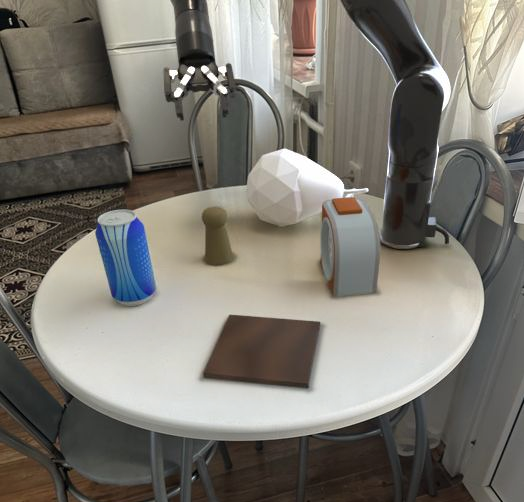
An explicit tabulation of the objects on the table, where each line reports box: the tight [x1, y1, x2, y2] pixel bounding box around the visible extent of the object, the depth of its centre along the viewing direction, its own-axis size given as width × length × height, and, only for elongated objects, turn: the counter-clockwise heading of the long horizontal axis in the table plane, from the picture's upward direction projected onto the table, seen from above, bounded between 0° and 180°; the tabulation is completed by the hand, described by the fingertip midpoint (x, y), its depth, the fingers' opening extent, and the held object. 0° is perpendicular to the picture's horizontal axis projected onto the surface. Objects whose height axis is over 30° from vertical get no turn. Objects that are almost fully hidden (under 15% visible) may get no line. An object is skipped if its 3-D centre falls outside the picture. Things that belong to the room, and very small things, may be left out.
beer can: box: [94, 209, 157, 307], centre depth 91 cm, size 8×8×16 cm
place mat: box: [202, 314, 321, 389], centre depth 81 cm, size 16×16×1 cm
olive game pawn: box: [201, 206, 234, 266], centre depth 104 cm, size 6×6×11 cm
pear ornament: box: [246, 147, 369, 228], centre depth 117 cm, size 16×22×28 cm
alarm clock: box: [319, 196, 381, 298], centre depth 95 cm, size 15×8×14 cm, turn 5°
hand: (203, 116), depth 100 cm, fingers open, 8 cm apart
